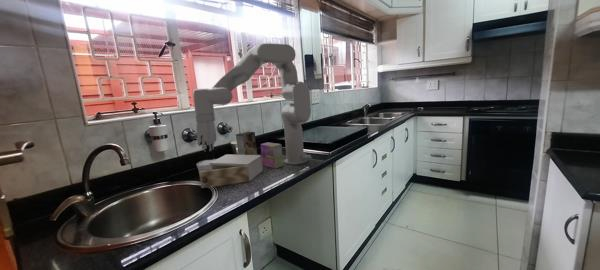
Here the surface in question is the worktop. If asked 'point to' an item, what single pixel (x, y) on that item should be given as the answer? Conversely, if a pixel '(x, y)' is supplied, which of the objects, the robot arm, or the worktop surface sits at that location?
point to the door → (223, 176)
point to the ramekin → (204, 165)
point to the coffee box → (246, 143)
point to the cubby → (239, 163)
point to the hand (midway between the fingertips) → (210, 159)
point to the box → (272, 155)
